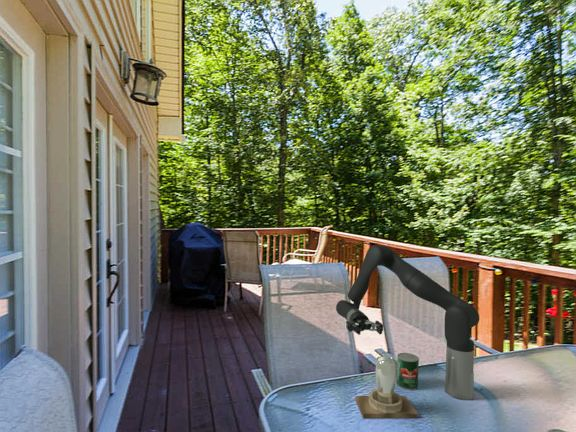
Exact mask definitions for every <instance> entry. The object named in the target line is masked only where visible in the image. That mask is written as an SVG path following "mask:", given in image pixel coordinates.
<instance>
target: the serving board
mask: <svg viewBox="0 0 576 432" xmlns="http://www.w3.org/2000/svg"><path fill="white" fill-rule="evenodd" d="M376 398H377V388H375V389H373V390H371V391H370V392H369V394H368V395H355V396H354V401H355V403H356V406H357V407H358V409H359V412H360V414H361V417H362V419H418V418H419V413H418V411H417V410H416V409H415V407H414V406H413V404H412V403H411V402H410V400H409V398H407V396H406V395H400V394H399V393H396V391H394V394H393V398H394V404H383V403H380V402H378V401H376Z"/></svg>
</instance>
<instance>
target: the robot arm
mask: <svg viewBox="0 0 576 432" xmlns="http://www.w3.org/2000/svg"><path fill="white" fill-rule="evenodd" d="M379 266H380V267H385V268H387V270H389V271H390V272H392V273H393V274H395V276H397V278H398V279H399V281H400V283H401V284H402V285H403V287H404V288H406V289H407V290H408V291H409V292H411V293H412V294H413V295H415V296H416V297H418V298H419V299H421V300H423V301H427V302H429V303H432V304H434V305H436V306H438V307H439V308H441V309H443V310H444V311H445V314H444V337H445V341H446V351H445V352H446V353H445V355H446V356H445V381H444V391H445V393H446V394H447V395H449V396H450V397H453V398H454V399H457V400H458V399H459V400H474V381H475V380H474V378H475V376H474V375H475V372H474V363H475V341H474V340H473V339H471V329H472V328H473V327H475V326H477V325H478V324H479V323H480V319H481V318H480V313H479V312H478V309H477V308H476V307H475V306H473V305H472V304H471V303H470V302H468V301H466V300H464V299H462V298H460V297H459V296H457V295H455V294H453V293H452V292H450V291H449V290H447V288H445V287H443V286H442V285H441V284H439V283H438V282H436V281H435V280H433V279H432V278H431V277H429V276H428V275H427V274H425V273H424V272H422V271H421V270H419V269H418V268H416V267H415V266H413V265H412V264H410V263H408V262H407V261H406V260H404V259H403V258H402V257H400V256H399V255H398V254H397V253H396V252H395V251H394V250H393V249H392V248H390V247H389V246H386V245H379V244H374V245H371V246H370V247H369V248H368V249H367V251H366V254H365V256H364V258H363V262H362V264H361V265H360V268H359V271H358V273H357V274H358V275H357V277H356V279H355V281H354V282H353V283H352V285H351V287H350V288H349V291H348V293H347V297H348V299H349V300H350V301H351V302H350V301H347V300H345V299H341V300H339V301H338V302H337V303H336V305H335V306H336V307H335V310H336V312H337V314H338V315H339V316H340V317H342V318H345V320H347V321H346V325H345V326H346V327H345V328H346V329H347V331H348V332H349V333H351V332H354V333H355V334H357V335H359V336H360V335H361V332H363V331H370V332H376V333H377V334H378V335H382V334H383V331H384V324H383V323H382V322H380V321H379V320H375V321H371V320H370V319H369V317H368V316H367V315H366V314H365V313H364V312H363V311H361V310H360V306H361V303H362V301H363V299H364V297H365V296H366V294H367V291H368V290H369V287H370V281H371V277H372V275H373V272H374V271H375V269H376V268H377V267H379Z"/></svg>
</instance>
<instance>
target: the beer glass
mask: <svg viewBox="0 0 576 432" xmlns="http://www.w3.org/2000/svg"><path fill="white" fill-rule="evenodd" d="M374 370H375V372H374V373H375V374H374V375H375V381H376V389H377V398H376V401H378V402H380V403H383V404H394V398H393V394H394V392H395V387H396V384H397V383H396V382H397V359H395V358H393V357H391V356H384V355H383V356H378V357H376V362H375V369H374Z"/></svg>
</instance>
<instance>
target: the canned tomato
mask: <svg viewBox="0 0 576 432" xmlns="http://www.w3.org/2000/svg"><path fill="white" fill-rule="evenodd" d="M419 360H420V358H419V356H418V355H416V354H413V353H409V352H400V353H398V354H397V359H396V366H397V377H396V383H395V384H396V386H398V387H399V388H401V389H403V390H405V391H414V390H417V389H418V388H419V366H420V364H419V363H420V361H419Z"/></svg>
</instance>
